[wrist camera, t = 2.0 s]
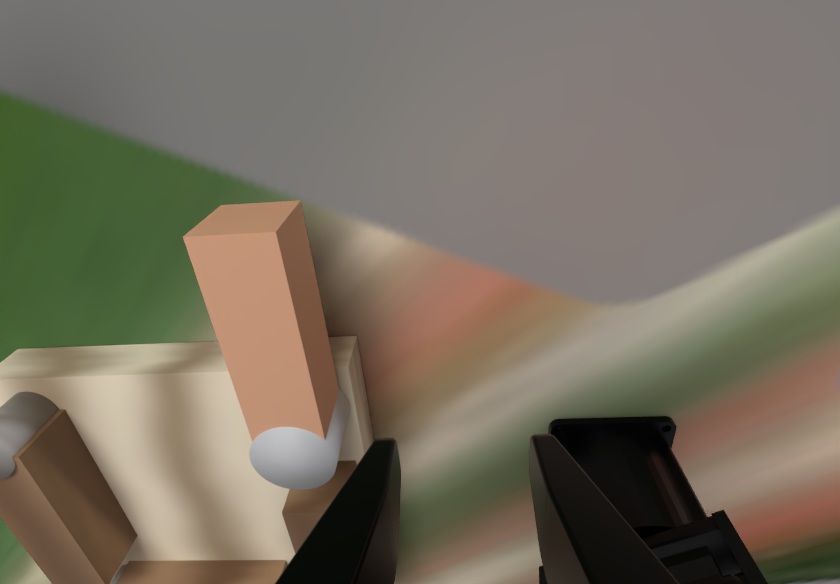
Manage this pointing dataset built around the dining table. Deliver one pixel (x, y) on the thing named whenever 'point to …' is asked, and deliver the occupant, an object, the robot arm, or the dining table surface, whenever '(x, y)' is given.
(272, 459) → the hinged leg
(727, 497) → the dining table surface
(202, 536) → the flat cream base board
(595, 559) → the robot arm
